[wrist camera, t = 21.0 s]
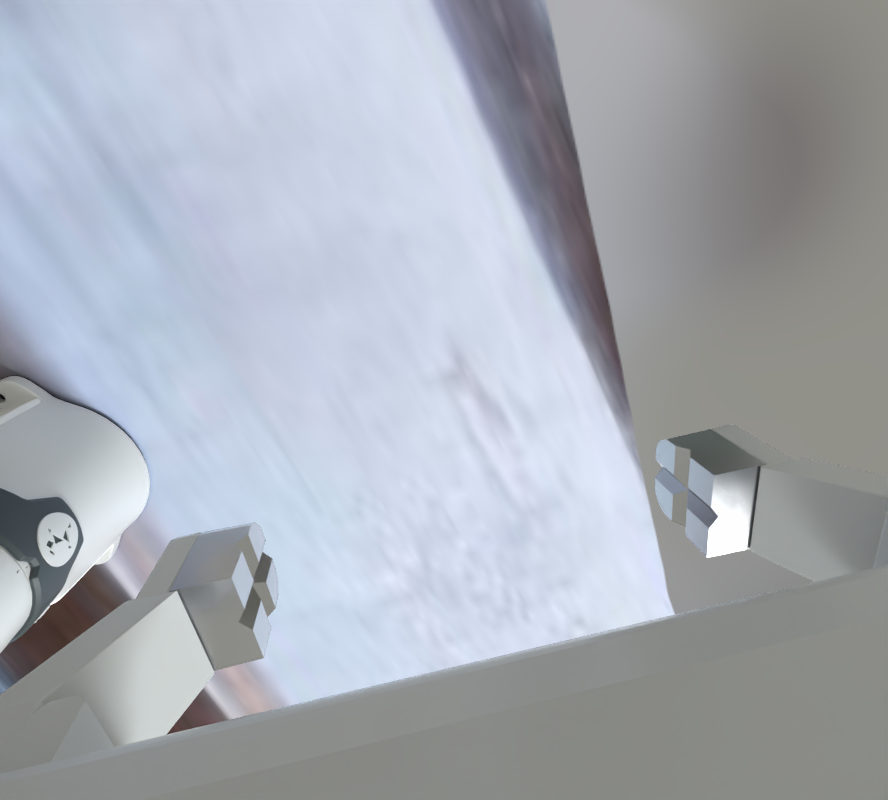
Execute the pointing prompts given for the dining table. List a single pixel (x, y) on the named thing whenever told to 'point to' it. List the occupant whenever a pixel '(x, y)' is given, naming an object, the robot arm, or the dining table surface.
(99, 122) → the dining table surface
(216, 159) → the dining table surface
